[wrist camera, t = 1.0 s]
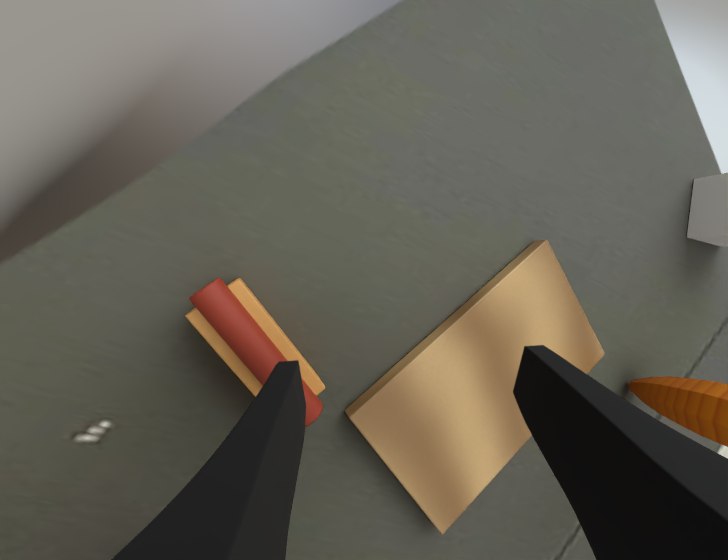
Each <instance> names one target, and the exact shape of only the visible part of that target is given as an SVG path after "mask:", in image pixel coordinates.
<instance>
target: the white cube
mask: <svg viewBox="0 0 728 560" xmlns="http://www.w3.org/2000/svg"><path fill="white" fill-rule="evenodd" d="M687 238H691V239H695V240H698V241H702V242H706V243H709V244H713V245H717V246H728V173H724V174H719V175H714V176H708V177H703V178H698V179H694V184H693V192H692V199H691V207H690V215H689V223H688V231H687Z"/></svg>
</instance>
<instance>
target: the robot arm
mask: <svg viewBox="0 0 728 560" xmlns="http://www.w3.org/2000/svg"><path fill="white" fill-rule="evenodd" d="M513 394H514V397H515V399H516V402H517V404H518V407H519V409H520V412H521V414H522V416H523V419H524V421H525V423H526V425H527V427H528V429H529V430H530V432H531V434H532V436H533V438H534V439H535V441H536V443H537V445H538V447H539V448H540V450H541V452H542V454H543V455H544V457H545V459H546V461H547V462H548V464H549V466H550V468H551V469H552V471H553V473H554V475H555V477H556V478H557V480H558V482H559V484H560V485H561V487H562V489H563V491H564V492H565V494H566V496H567V498H568V500H569V502H570V504H571V506H572V507H573V509H574V511H575V513H576V516H577V518H578V520H579V522H580V524H581V526H582V529H583V531H584V533H585V535H586V537H587V540H588V542H589V544H590V546H591V548H592V550H593V553H594V555H595V557H596V560H728V459H727V458H725V457H723V456H721V455H719V454H717V453H716V452H714V451H712V450H710V449H708V448H706V447H704V446H703V445H701V444H699V443H697V442H695V441H693V440H692V439H690V438H688V437H686V436H684V435H683V434H681V433H679V432H677V431H675V430H674V429H672V428H670V427H669V426H667V425H665V424H663V423H662V422H660V421H658V420H657V419H655V418H653V417H652V416H650V415H649V414H647V413H645V412H644V411H642V410H640V409H639V408H637V407H636V406H634V405H632V404H631V403H629V402H628V401H626V400H625V399H623V398H621V397H620V396H618V395H617V394H615V393H614V392H612V391H611V390H609V389H608V388H606V387H605V386H603V385H602V384H600V383H599V382H597V381H596V380H594V379H593V378H592V377H590V376H589V375H587V374H586V373H584V372H583V371H581V370H580V369H578V368H577V367H575V366H574V365H573V364H571V363H570V362H568V361H567V360H565V359H564V358H562V357H561V356H559V355H558V354H556V353H555V352H553V351H552V350H550V349H549V348H547V347H546V346H544V345H535V346H524V350H523V354H522V358H521V361H520V365H519V369H518V373H517V377H516V381H515V385H514V389H513ZM305 418H306V401H305V395H304V389H303V384H302V378H301V372H300V366H299V361H298V360H295V361H279V362H278V363H277V364H276V365H275V367H274V369H273V370H272V372H271V374H270V375H269V377H268V379H267V380H266V382H265V383H264V385H263V387H262V388H261V390H260V391H259V393H258V394H257V396H256V397H255V399H254V400H253V402H252V403H251V405H250V406H249V407H248V409H247V410H246V412H245V413H244V415H243V416H242V417H241V419H240V420H239V422H238V423H237V424H236V426H235V427H234V428H233V430H232V431H231V432H230V433H229V435H228V436H227V437H226V439H225V440H224V441H223V443H222V444H221V445H220V446H219V448H218V449H217V450H216V451H215V453H214V454H213V455H212V456H211V458H210V459H209V460H208V461H207V462H206V464H205V465H204V466H203V467H202V468H201V469H200V470H199V472H198V473H197V474H196V475H195V476H194V477H193V478H192V480H191V481H190V482H189V483H188V484H187V485H186V486H185V487H184V488H183V489H182V490H181V492H180V493H179V494H178V495H177V496H176V497H175V498H174V499H173V500H172V501H171V502H170V503H169V504H168V505H167V506H166V507H165V508H164V509H163V511H162V512H161V513H160V514H159V515H158V516H157V517H156V518H155V519H154V520H153V521H152V522H151V523H150V524H149V525H148V526H147V527H146V528H145V529H144V530H142V531H141V532H140V533H139V534H138V535H137V536H136V537H135V538H134V539H133V540H132V541H131V542H130V543H129V544H128V545H126V546H125V547H124V548H123V549H122V550H121V551H120V552H119V553H118V554H117V555H116V556H115V557H114V558H113V559H112V560H285V556H286V545H287V535H288V528H289V521H290V514H291V509H292V503H293V497H294V492H295V486H296V481H297V475H298V470H299V464H300V458H301V453H302V447H303V441H304V432H305Z"/></svg>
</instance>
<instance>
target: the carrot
mask: <svg viewBox="0 0 728 560" xmlns="http://www.w3.org/2000/svg"><path fill="white" fill-rule="evenodd" d="M628 387H629V388H630V390H631V392H633V393H634V394H635V395H636V396H637V397H638V398H639V399H640V400H642V401H643V402H644V403H645V404H647V405H648V406H649V407H651V408H652V409H654V410H655V411H656V412H658V413H659V414H661V415H663V416H665V417H667V418H668V419H670V420H672V421H674V422H676V423H677V424H679V425H681V426H683V427H685V428H687V429H689V430H691V431H693V432H695V433H697V434H699V435H701V436H703V437H706V438H708V439H710V440H713V441H715V442H718V443H720V444H722V445H725V446H727V447H728V384H724V383H719V382H713V381H705V380H698V379H689V378H679V377H649V378H642V379H635V380H633V381H631V382H629V383H628Z"/></svg>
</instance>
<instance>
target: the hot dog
mask: <svg viewBox="0 0 728 560" xmlns="http://www.w3.org/2000/svg"><path fill="white" fill-rule="evenodd" d="M189 300H190V301H191V302H192V304H193V305H194V306H195V308H194V309H192V310H191V311H190V312H189V313H188V314H186V318H187V319H188V320H189V321H190V323H191V324H192V325H193V326H194V327H195V328H196V329H197V331H198V332H199V333H200V334H201V335H202V336H203V337H204V339H205V340H206V341H207V342H208V343H209V344H210V345H211V347H212V348H213V349H214V350H215V351H216V352H217V353H218V355H219V356H220V357H221V358H222V359H223V360H224V361H225V363H226V364H227V365H228V366H229V367H230V368H231V369H232V371H233V372H234V373H235V374H236V375H237V376H238V377H239V379H240V380H241V381H242V382H243V383H244V384H245V385H246V387H247V388H248V389H249V390H250V391H251V392H252V394H253V395H254V396H255V397H256V396H257V394H258V393H259V391H260V390H261V388H262V387H263V385H264V383H265V382H266V380H267V379H268V377H269V375H270V374H271V372H272V370H273V369H274V367H275V365H276V364H277V363H278V362H279V361H295V360H298V361H299V366H300V372H301V378H302V384H303V389H304V395H305V401H306V418H305V427H306V426H308V425H310V424H311V423H312V422H314V421H315V420H316V419H317V417H318V416H319V415H320V413H321V411H322V409H323V404H322V402H321V401H320V400H319V399H318V397H317V395H318V394H319V393H320V392H322V391H323V390H324V389H325V386H324V384H323V382H322V381H321V379H320V378H319V376H318V375H317V374H316V372H315V371H314V370H313V369H312V367H311V366H310V365H309V364H308V362H307V361H306V360H305V359H304V357H303V356H302V355H301V353H300V352H299V351H298V350H297V348H296V347H295V346H294V345H293V343H292V342H291V341H290V340H289V338H288V337H287V336H286V335H285V333H284V332H283V331H282V330H281V328H280V327H279V326H278V325H277V323H276V322H275V321H274V320H273V318H272V317H271V316H270V314H269V313H268V312H267V311H266V309H265V308H264V307H263V306H262V304H261V303H260V302H259V301H258V299H257V298H256V297H255V296H254V294H253V293H252V292H251V291H250V289H249V288H248V287H247V286H246V284H245V283H244V282H243V281H242V279H241V278H237V279H236V280H234V281H233V282H231V283H230V284H229V285H226V284H225V283H224V282H223V281H222V279H221V278H217V279H216V280H214V281H213V282H211V283H210V284H208V285H207V286H205V287H204V288H202V289H201V290H200V291H198V292H197V293H195V294H194V295H192V296H191V297H190V298H189Z"/></svg>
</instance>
